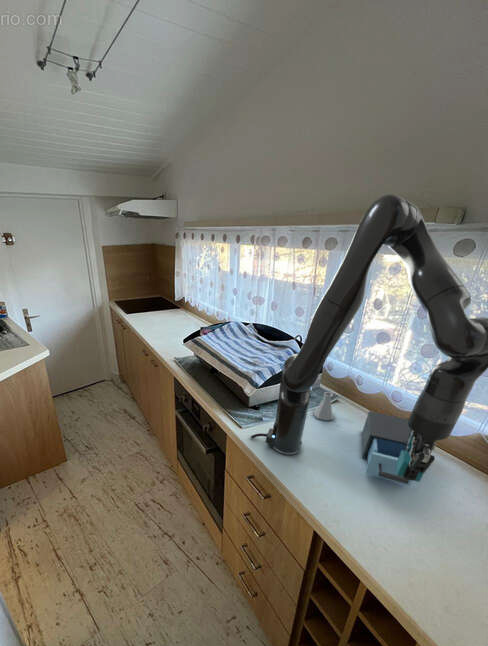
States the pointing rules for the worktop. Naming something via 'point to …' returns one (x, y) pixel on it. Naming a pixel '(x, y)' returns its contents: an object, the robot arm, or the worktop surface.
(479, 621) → the worktop surface
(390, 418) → the grey hollow box
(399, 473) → the teal block
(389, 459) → the light blue drawer box
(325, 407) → the flask
